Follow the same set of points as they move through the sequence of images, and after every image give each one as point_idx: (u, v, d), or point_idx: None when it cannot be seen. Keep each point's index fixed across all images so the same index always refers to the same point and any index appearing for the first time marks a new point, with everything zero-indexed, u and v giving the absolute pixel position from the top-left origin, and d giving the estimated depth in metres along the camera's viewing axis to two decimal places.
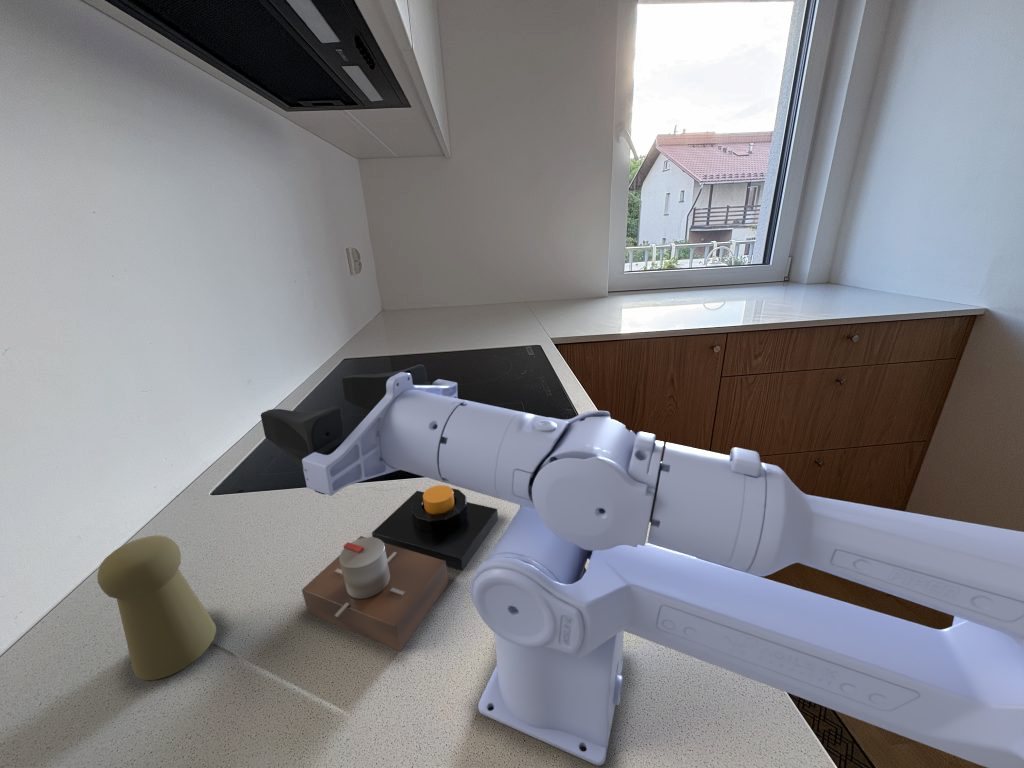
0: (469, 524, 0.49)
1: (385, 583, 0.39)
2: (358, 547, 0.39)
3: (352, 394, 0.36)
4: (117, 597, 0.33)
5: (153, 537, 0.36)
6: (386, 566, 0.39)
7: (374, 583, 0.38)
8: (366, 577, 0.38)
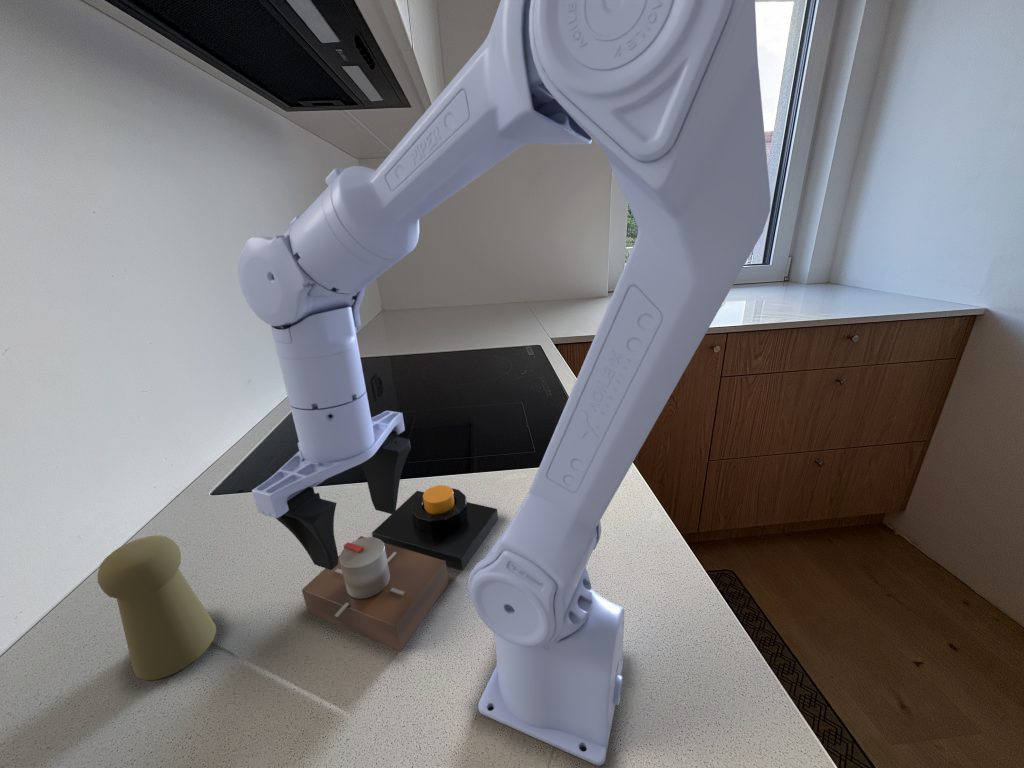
0: (469, 524, 0.49)
1: (385, 583, 0.39)
2: (358, 547, 0.39)
3: (384, 504, 0.41)
4: (117, 597, 0.33)
5: (153, 537, 0.36)
6: (386, 566, 0.39)
7: (374, 583, 0.38)
8: (366, 577, 0.38)
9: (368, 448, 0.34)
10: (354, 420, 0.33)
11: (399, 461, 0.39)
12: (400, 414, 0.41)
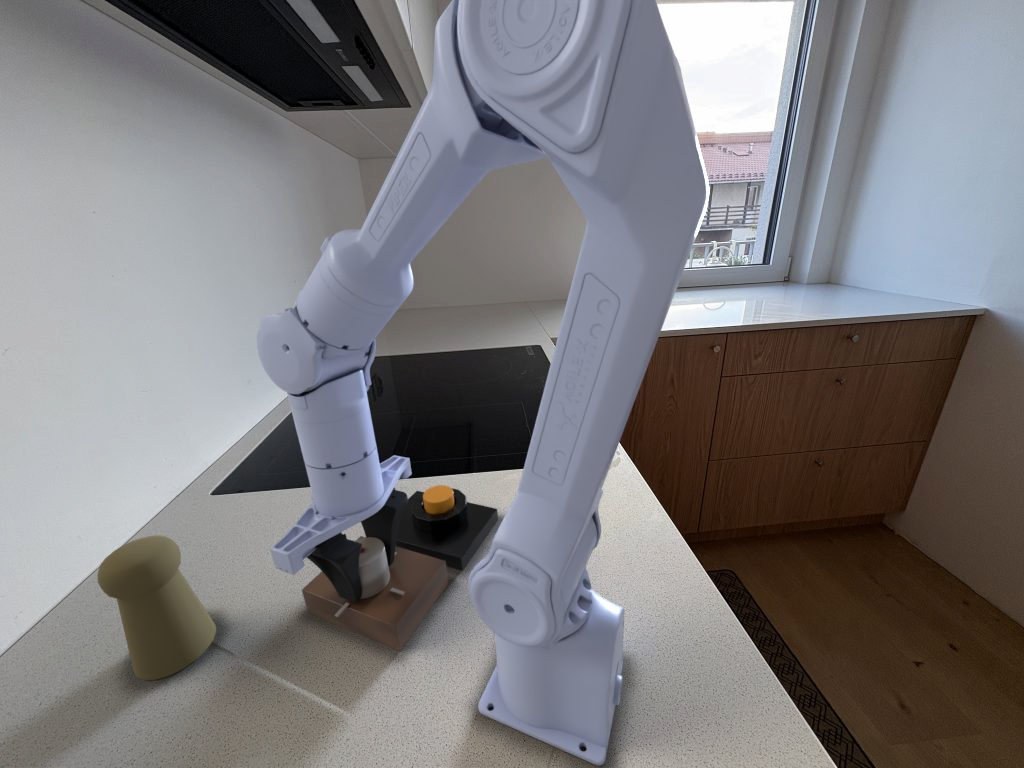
0: (469, 524, 0.49)
1: (385, 583, 0.39)
2: None
3: None
4: (117, 597, 0.33)
5: (153, 537, 0.36)
6: (386, 566, 0.39)
7: (374, 583, 0.38)
8: (366, 577, 0.38)
9: (378, 500, 0.36)
10: (365, 476, 0.34)
11: (397, 516, 0.40)
12: (407, 459, 0.42)
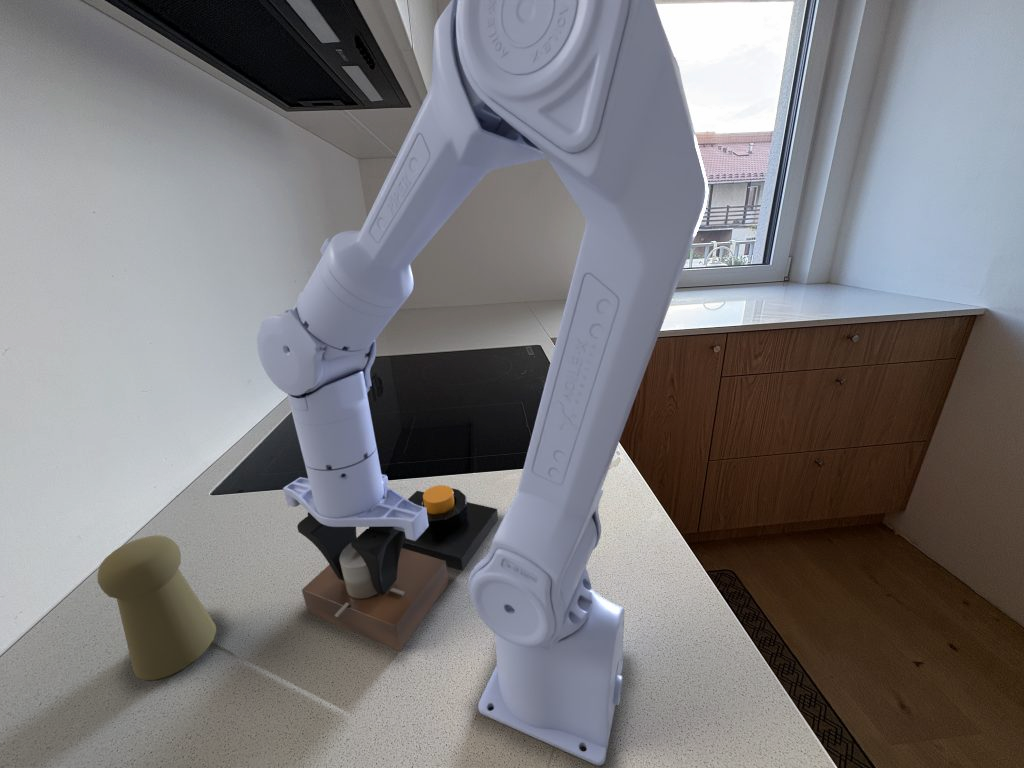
0: (469, 524, 0.49)
1: (353, 594, 0.38)
2: None
3: None
4: (117, 597, 0.33)
5: (153, 537, 0.36)
6: (357, 583, 0.38)
7: (345, 582, 0.39)
8: None
9: (327, 517, 0.34)
10: (314, 485, 0.34)
11: (365, 555, 0.35)
12: (409, 521, 0.33)
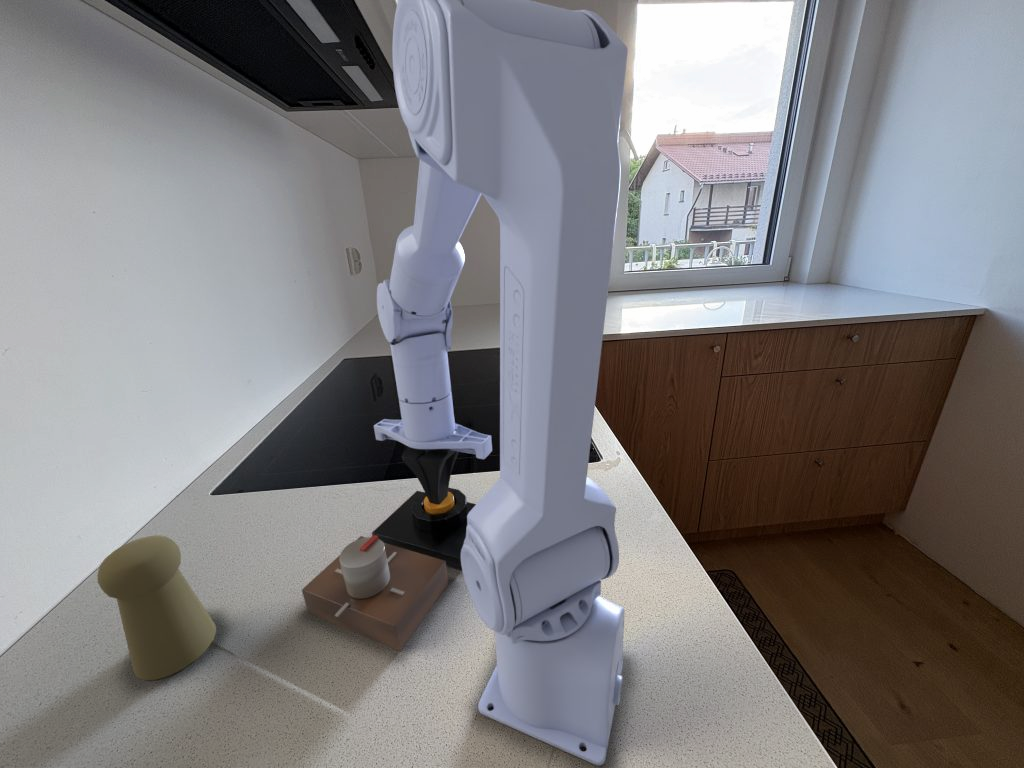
0: None
1: (353, 594, 0.38)
2: (365, 546, 0.39)
3: None
4: (117, 597, 0.33)
5: (153, 537, 0.36)
6: (357, 583, 0.38)
7: (345, 582, 0.39)
8: None
9: (416, 441, 0.45)
10: (407, 416, 0.44)
11: (428, 469, 0.46)
12: (480, 443, 0.44)
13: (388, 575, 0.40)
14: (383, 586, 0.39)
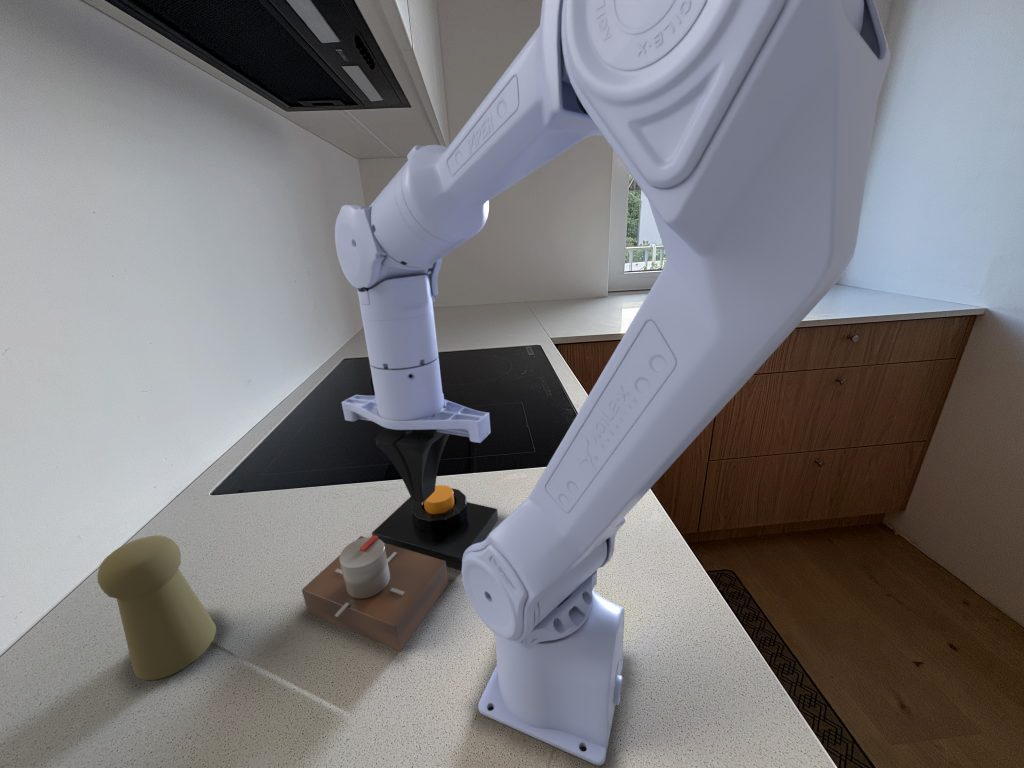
0: (469, 524, 0.49)
1: (353, 594, 0.38)
2: (365, 546, 0.39)
3: None
4: (117, 597, 0.33)
5: (153, 537, 0.36)
6: (357, 583, 0.38)
7: (345, 582, 0.39)
8: None
9: (393, 420, 0.35)
10: (380, 386, 0.34)
11: (409, 456, 0.36)
12: (475, 422, 0.34)
13: (388, 575, 0.40)
14: (383, 586, 0.39)
